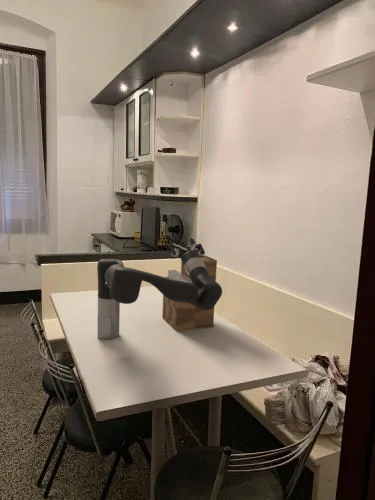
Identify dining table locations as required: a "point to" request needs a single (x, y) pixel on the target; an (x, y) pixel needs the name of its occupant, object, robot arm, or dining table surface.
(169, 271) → the steel bar
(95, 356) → the dining table surface
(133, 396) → the dining table surface
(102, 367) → the dining table surface
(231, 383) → the dining table surface
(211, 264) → the stand
